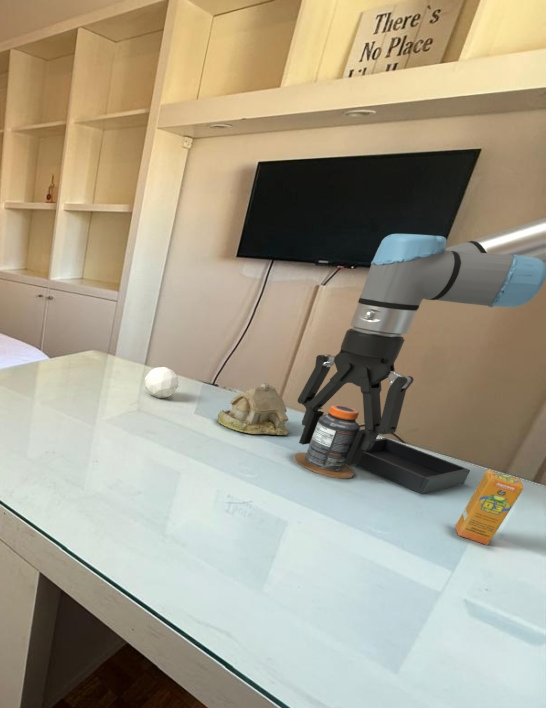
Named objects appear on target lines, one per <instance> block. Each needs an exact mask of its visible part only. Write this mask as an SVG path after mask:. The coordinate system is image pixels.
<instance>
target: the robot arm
mask: <svg viewBox="0 0 546 708" xmlns="http://www.w3.org/2000/svg"><path fill="white" fill-rule="evenodd" d="M447 241H448V240H447V238H446V237H445V236H441V235H431V234H415V233H414V234H413V233H391V234H389V235H387V236H385V237H384V238H383V239H382V240H381V242H380V243H379V247H378V248H377V250H376V252H375V255H374V257H373V259H372V261H370V262H371V263H370V267H369V270H368V273H367V276H366V279H365V281H364V285H363V288H362V290H361V294H360V296H359V298H358V300H357V303H356V305H355V309H354V311H353V313H352V316H351V318H350V321H349V325H350V327H352V328H349V329H347V330H346V331H345V334H344V337H343V339H342V341H341V344H340V350H339V352H338V353H337V354H336V355H331V354H318V355H316V357H315V364H314V367H313V370H312V372H311V374H310V376H309V377H308V379H307V381H306V383H305V385H304V387H303V389H302V390H301V393H300V395H299V396H298V398H297V403H298V404H300V405H302V406H304V408H305V412H304V414H303V418H302V420H301V425H302V426H304V428H303V431H302V433H301V437H300V439H299V442H298V443H299V444H300V445H303V446H304V445H309V444H310V442H311V439H312V436H313V434H314V431H315V428H316V426H317V423H318V420H319V418H320V417H321V416H323V415H325V412H324V411H321V410H323V408H324V407H323V406H325V405H326V404H327V403H328V402H329V401H330V400H331V399H332V398H333V397H334V396H335V394H336V393H338V391H340V389H341V388H342V387H344V385H347V384H353V385H355V386H356V387H360V393H361V394H362V405H363V422H364V429H360V430H358V432H357V435H356V437H355V439H354V442H353V444H352V447H351V449H350V451H349V454H348V456H347V458H346V461H345V464H346V465H347V466H356V465H355V464H359V462H360V460H361V457H362V455H363V453H364V450H370V449H371V448H372V447H373V445H374V443H375V441H376V439H378V436H379V435H383V436H385V435H389V434H390V435H391V434H394V433H396V431H397V428H398V424H399V422H400V421H399V420H400V417H401V413H402V410H403V409H402V408H403V406H404V405H403V404H404V401H405V397H406V393H407V390H408V389H409V388H410V387H411V385H412V384H413V382H414V381H415V379H414V377H413V376H411V375H403V374H402V373H400V372H398V371H396V369H395V363H396V360H397V359H398V357H399V354H400V352H401V350H402V347H403V345H404V343H405V339H404V337H403V335H406V334H409V332H410V329H411V326H412V324H413V322H414V319H415V316H416V314H417V312H418V310H419V309H420V305H421V304H422V301H423V300H427V301H439V302H440V301H441V302H450V303H457V304H465V305H467V304H468V305H475V306H484V307H485V306H486V307H488V308H493V307H499V308H517V307H522V306H524V305H526V304H527V303H529V302H530V301H532V300H533V299H534V298H535V297H536V296H537V295H538V294H539V293H540V291H541V289H542V287H543V285H544V283H545V282H546V217H543V218H540V219H537V220H536V219H535V220H533V221H530V222H527V223H524V224H521V225H520V224H519V225H516V226H514V227H510V228H507V229H503V230H501V231H497V232H494V233H490V234H488V235H484V236H481V237H478V238H475V239H471V240H469V241H466V242H462V243H458V244H455V245H451V246H449V247H447V246H446V245H447ZM334 365H335V368H336V372H335V373H334V374H333V375H332V376H331V377H330V379H329V381H328V382H327V383H326V384H325V385H324V386H323V387H322V385H323V383H324V381H325V379H326V377H327V376H328V374H329V372H330V371H331V367H333V366H334ZM386 379H389V381H388V385H389V388H388V390H387V393H386V396H385V401H384V405H383V410H382V406H381V405H382V403H381V392H382V381H385V380H386ZM321 387H322V388H321ZM320 388H321V389H320Z"/></svg>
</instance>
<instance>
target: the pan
mask: <svg viewBox="0 0 546 708" xmlns="http://www.w3.org/2000/svg"><path fill="white" fill-rule="evenodd" d="M381 438H382V439H381ZM354 466H357V467H360V468H361V469H364V470H366V471H369V472H370V473H373V474H375V475H378V476H380V477H382V478H384V479H386V480H389V481H391V482H393V483H395V484H397V485H400V486H402V487H405V488H407V489H409V490H412V491H414V492H416V493H418V494H420V495H424V494H428V493H432V492H435V491H440V490H444V489H448V488H453V487H456V486H460V485H464V484H465V482H466V481H467V479H468V477H469V476H470V475H469V474H470V473H471V469H469V468H466V467H464V466H463V465H459V464H456V463H453V462H451V461H448V460H446V459H443V458H440V457H437V456H435V455H433V454H430V453H427V452H424V451H423V450H422V451H421V450H419V449H416V448H414V447H411V446H408V445H406V444H403V443H401V442H399V441H395V440H392V439H390V438H388V437H380V438H376V441H375V443H374V445H373V447H372V448H371V449H370V450H364V453H363V455H362V457H361V460H360V462H359V464H355V465H354Z"/></svg>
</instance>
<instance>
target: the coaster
mask: <svg viewBox="0 0 546 708" xmlns="http://www.w3.org/2000/svg"><path fill="white" fill-rule="evenodd" d="M305 455H306V452H297V453H295V454H294V455H293V460H294V462H295V463H297V464H298V465H299V466H300V467H302V468H304V469H307V470H309V471H311V472H313V473H315V474H319V475H321V476H325V477H329V478H334V479H343V480H345V479H351V478H352V477H353V476H354V470H353V469H352V468H351V467H349V465H347V464H346V465H345V467H344V469H343V470H341V471H331V470H326V469H322V468H319V467H317V466H314V465H312V464H311V463H309V462H308V461H307V460H306V459H305Z"/></svg>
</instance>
